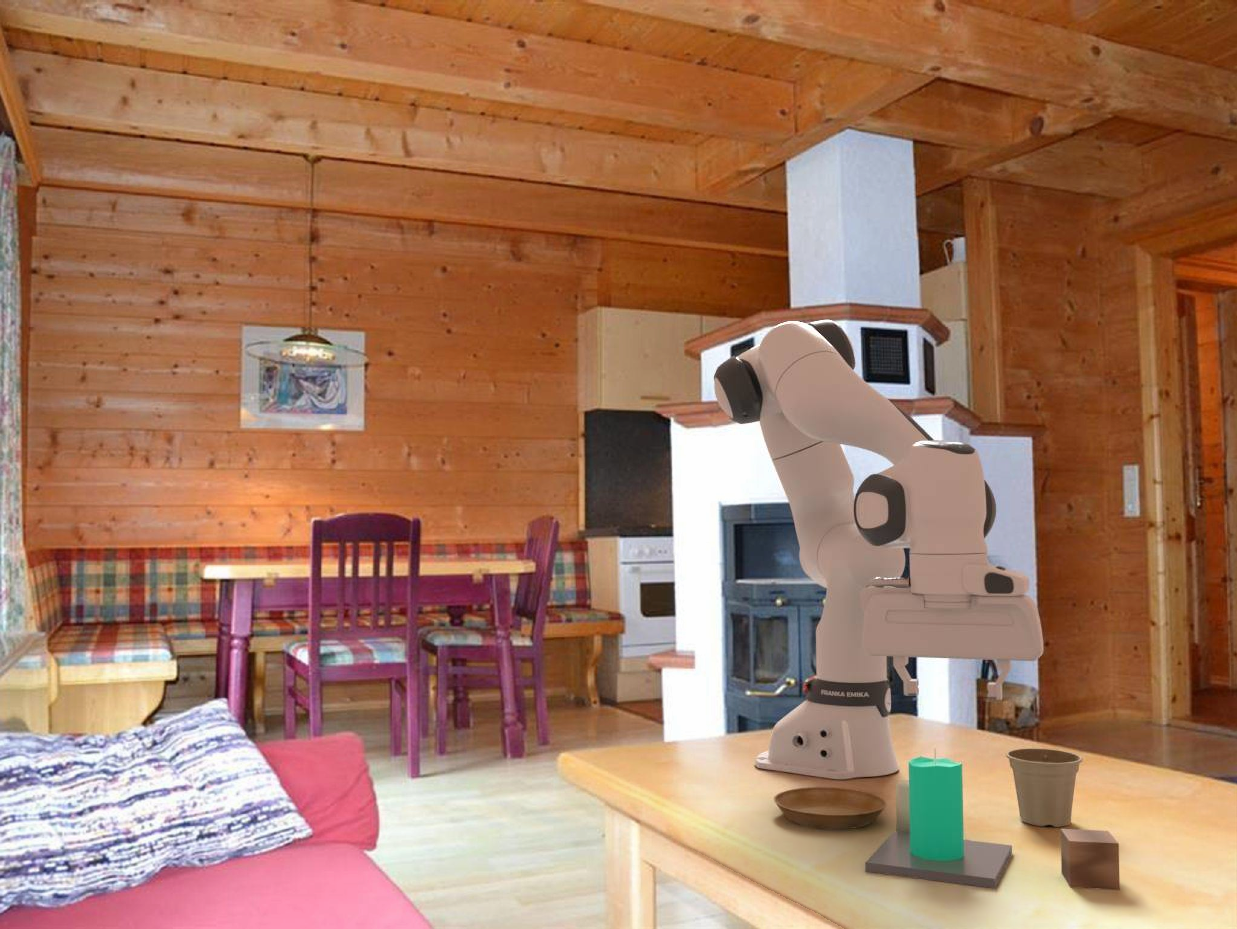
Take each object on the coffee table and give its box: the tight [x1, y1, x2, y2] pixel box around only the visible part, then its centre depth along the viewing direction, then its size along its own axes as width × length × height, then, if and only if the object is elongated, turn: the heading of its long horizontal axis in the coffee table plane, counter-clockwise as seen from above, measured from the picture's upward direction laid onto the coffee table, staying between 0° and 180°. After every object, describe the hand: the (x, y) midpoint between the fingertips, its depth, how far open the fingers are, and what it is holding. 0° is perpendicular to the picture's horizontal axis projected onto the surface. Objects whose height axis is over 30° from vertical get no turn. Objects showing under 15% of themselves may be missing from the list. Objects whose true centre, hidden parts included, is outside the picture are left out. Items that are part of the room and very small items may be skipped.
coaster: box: [864, 831, 1013, 889], centre depth 132 cm, size 14×14×1 cm
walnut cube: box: [1060, 828, 1121, 891], centre depth 125 cm, size 5×5×5 cm
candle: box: [908, 748, 965, 861], centre depth 132 cm, size 6×6×12 cm
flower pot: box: [1005, 747, 1083, 828], centre depth 150 cm, size 9×9×9 cm
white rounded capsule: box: [895, 780, 910, 833], centre depth 144 cm, size 5×5×6 cm
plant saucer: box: [773, 786, 887, 830], centre depth 152 cm, size 15×15×3 cm
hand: (952, 697), depth 133 cm, fingers open, 8 cm apart
